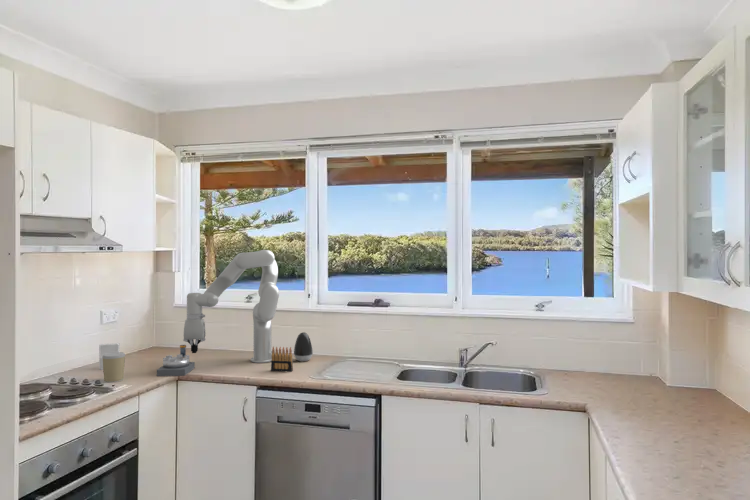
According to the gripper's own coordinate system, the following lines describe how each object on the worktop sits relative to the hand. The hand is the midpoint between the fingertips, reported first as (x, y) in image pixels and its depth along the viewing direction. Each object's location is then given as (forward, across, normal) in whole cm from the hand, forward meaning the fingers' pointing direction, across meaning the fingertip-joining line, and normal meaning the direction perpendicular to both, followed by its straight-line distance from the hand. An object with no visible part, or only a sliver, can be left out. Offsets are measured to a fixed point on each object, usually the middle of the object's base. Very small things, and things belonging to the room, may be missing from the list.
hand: (194, 352), depth 252 cm
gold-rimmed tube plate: (+4, +6, +7) cm, 10 cm away
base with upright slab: (+8, +42, -2) cm, 43 cm away
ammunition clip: (+7, -46, +14) cm, 48 cm away
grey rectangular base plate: (+7, +6, +10) cm, 14 cm away
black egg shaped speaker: (+7, -55, -9) cm, 56 cm away
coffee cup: (+8, +30, +24) cm, 39 cm away
